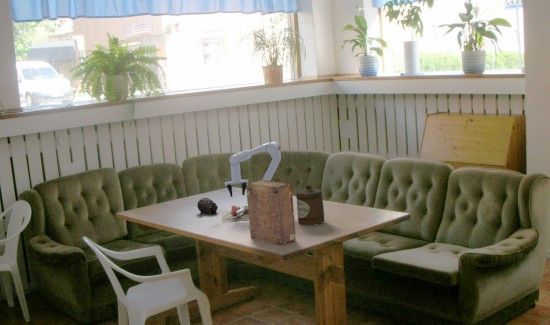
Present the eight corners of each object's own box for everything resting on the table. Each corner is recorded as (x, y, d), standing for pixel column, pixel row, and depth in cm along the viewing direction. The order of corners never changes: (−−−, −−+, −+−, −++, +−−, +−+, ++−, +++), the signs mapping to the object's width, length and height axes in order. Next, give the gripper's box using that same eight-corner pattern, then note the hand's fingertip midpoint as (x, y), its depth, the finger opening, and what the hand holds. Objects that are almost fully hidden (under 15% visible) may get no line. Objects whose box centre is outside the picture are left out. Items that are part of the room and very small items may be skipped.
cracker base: (254, 210, 449) (253, 204, 449) (256, 219, 426) (255, 212, 425) (221, 213, 448) (221, 207, 447) (222, 222, 424) (221, 215, 424)
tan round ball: (238, 212, 444) (237, 206, 443) (238, 213, 440) (237, 207, 439) (231, 213, 443) (230, 206, 443) (231, 214, 439) (231, 208, 439)
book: (250, 238, 384) (245, 182, 380) (263, 234, 390) (258, 179, 386) (282, 245, 365) (278, 186, 361) (296, 240, 371) (291, 183, 367)
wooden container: (293, 222, 411) (290, 184, 408) (317, 218, 417) (314, 180, 413) (305, 227, 397) (302, 188, 394) (329, 222, 403) (326, 184, 400)
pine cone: (209, 217, 441) (208, 201, 440) (195, 213, 455) (193, 198, 454) (224, 214, 447) (222, 198, 446) (209, 210, 461) (207, 195, 460)
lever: (244, 209, 445) (243, 199, 444) (251, 209, 443) (250, 200, 442) (230, 216, 429) (229, 206, 428) (236, 216, 427) (235, 206, 426)
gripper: (226, 176, 439) (227, 198, 441) (249, 173, 444) (250, 195, 446) (223, 174, 446) (224, 196, 448) (245, 172, 450) (247, 193, 452)
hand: (237, 195), depth 447 cm, fingers open, 7 cm apart
